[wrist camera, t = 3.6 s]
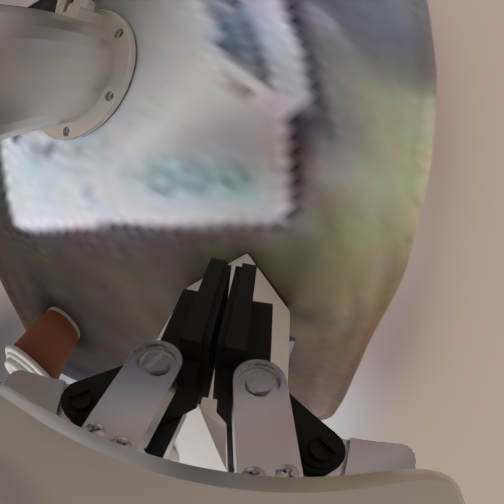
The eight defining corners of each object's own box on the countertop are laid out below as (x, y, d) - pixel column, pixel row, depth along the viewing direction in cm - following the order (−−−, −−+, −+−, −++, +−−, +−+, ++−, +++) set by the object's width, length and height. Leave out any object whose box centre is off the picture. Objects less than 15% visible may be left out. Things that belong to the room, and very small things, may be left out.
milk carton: (290, 310, 25) (277, 521, 8) (230, 336, 28) (181, 512, 10) (248, 251, 23) (171, 488, 6) (187, 286, 25) (88, 467, 8)
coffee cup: (94, 352, 34) (61, 413, 23) (52, 335, 34) (18, 387, 23) (78, 308, 29) (30, 375, 19) (34, 292, 29) (-12, 346, 19)
